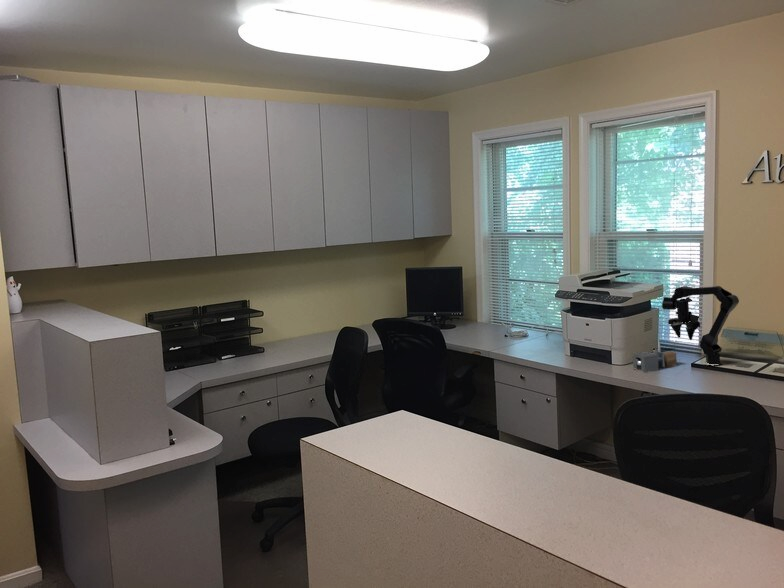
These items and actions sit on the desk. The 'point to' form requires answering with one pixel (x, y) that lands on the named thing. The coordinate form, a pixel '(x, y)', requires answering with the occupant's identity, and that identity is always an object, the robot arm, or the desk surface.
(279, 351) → the desk surface
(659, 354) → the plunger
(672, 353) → the pusher block
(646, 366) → the gauge frame
